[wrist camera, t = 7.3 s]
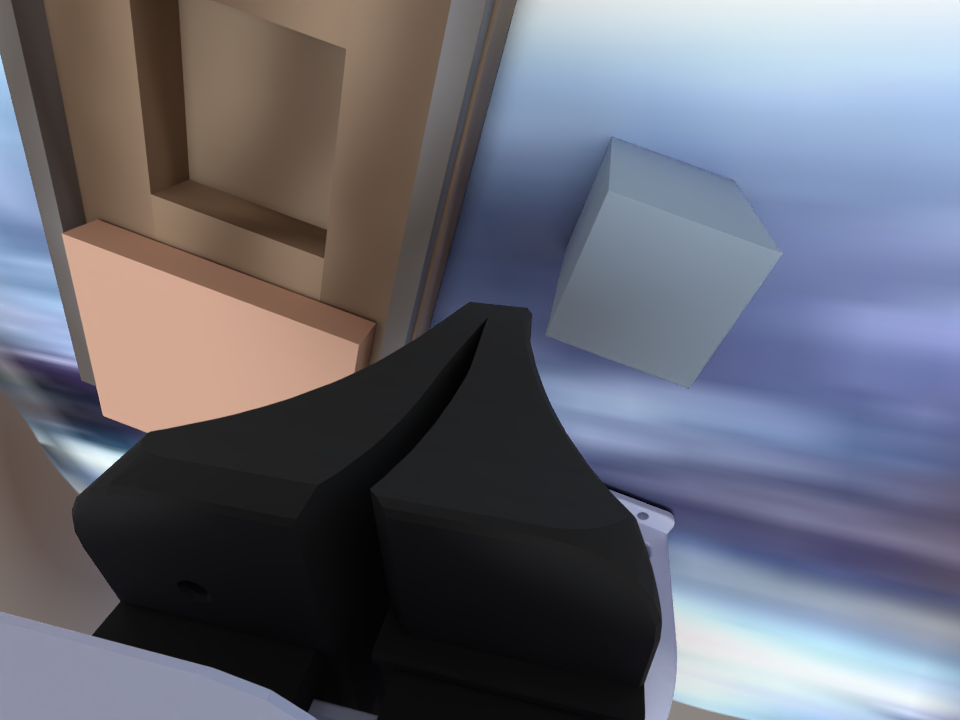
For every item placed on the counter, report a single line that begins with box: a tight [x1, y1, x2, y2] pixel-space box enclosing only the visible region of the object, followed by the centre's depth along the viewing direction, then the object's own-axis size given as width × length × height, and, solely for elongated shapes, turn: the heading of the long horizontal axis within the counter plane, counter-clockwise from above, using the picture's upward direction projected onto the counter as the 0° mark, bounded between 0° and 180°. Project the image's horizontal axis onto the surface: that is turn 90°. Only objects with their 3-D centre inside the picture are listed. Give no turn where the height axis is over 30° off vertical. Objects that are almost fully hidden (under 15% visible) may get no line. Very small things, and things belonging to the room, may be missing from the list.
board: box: [0, 0, 516, 386], centre depth 18 cm, size 14×20×4 cm
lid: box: [62, 219, 376, 433], centre depth 21 cm, size 11×9×2 cm
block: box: [545, 137, 783, 389], centre depth 15 cm, size 4×4×6 cm
